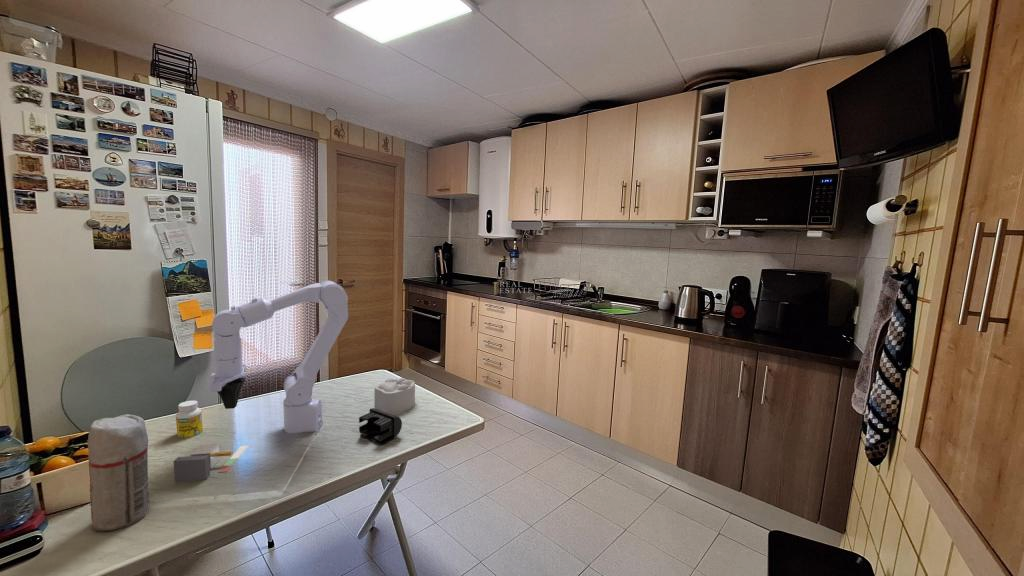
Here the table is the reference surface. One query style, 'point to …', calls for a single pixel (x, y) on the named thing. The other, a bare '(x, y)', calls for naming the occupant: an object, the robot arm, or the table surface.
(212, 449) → the grey block
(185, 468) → the gauge board
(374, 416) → the end cap
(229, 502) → the table surface
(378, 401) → the lumpy-topped squat cylinder
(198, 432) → the supplement bottle
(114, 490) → the paper flour sack
